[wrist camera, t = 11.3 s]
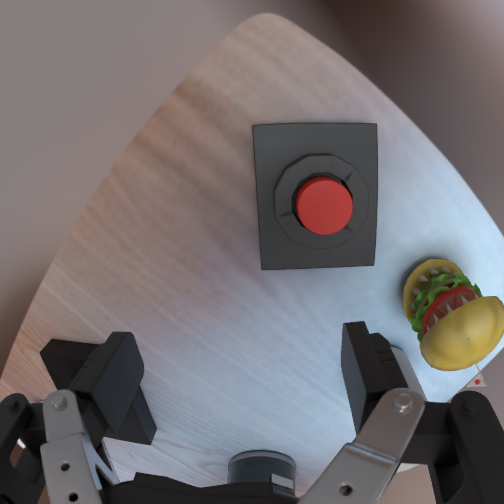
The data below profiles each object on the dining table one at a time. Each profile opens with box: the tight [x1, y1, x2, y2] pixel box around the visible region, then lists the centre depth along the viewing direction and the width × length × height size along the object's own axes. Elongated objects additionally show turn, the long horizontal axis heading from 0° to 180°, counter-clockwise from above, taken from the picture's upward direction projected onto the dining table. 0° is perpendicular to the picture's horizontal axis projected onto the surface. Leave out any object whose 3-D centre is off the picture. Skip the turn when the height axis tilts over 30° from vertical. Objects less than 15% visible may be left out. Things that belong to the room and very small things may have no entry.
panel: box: [40, 339, 157, 445], centre depth 33 cm, size 14×11×3 cm
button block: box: [252, 123, 378, 270], centre depth 23 cm, size 11×9×4 cm
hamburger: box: [402, 259, 504, 387], centre depth 22 cm, size 8×7×12 cm
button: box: [296, 177, 353, 235], centre depth 21 cm, size 4×4×2 cm
